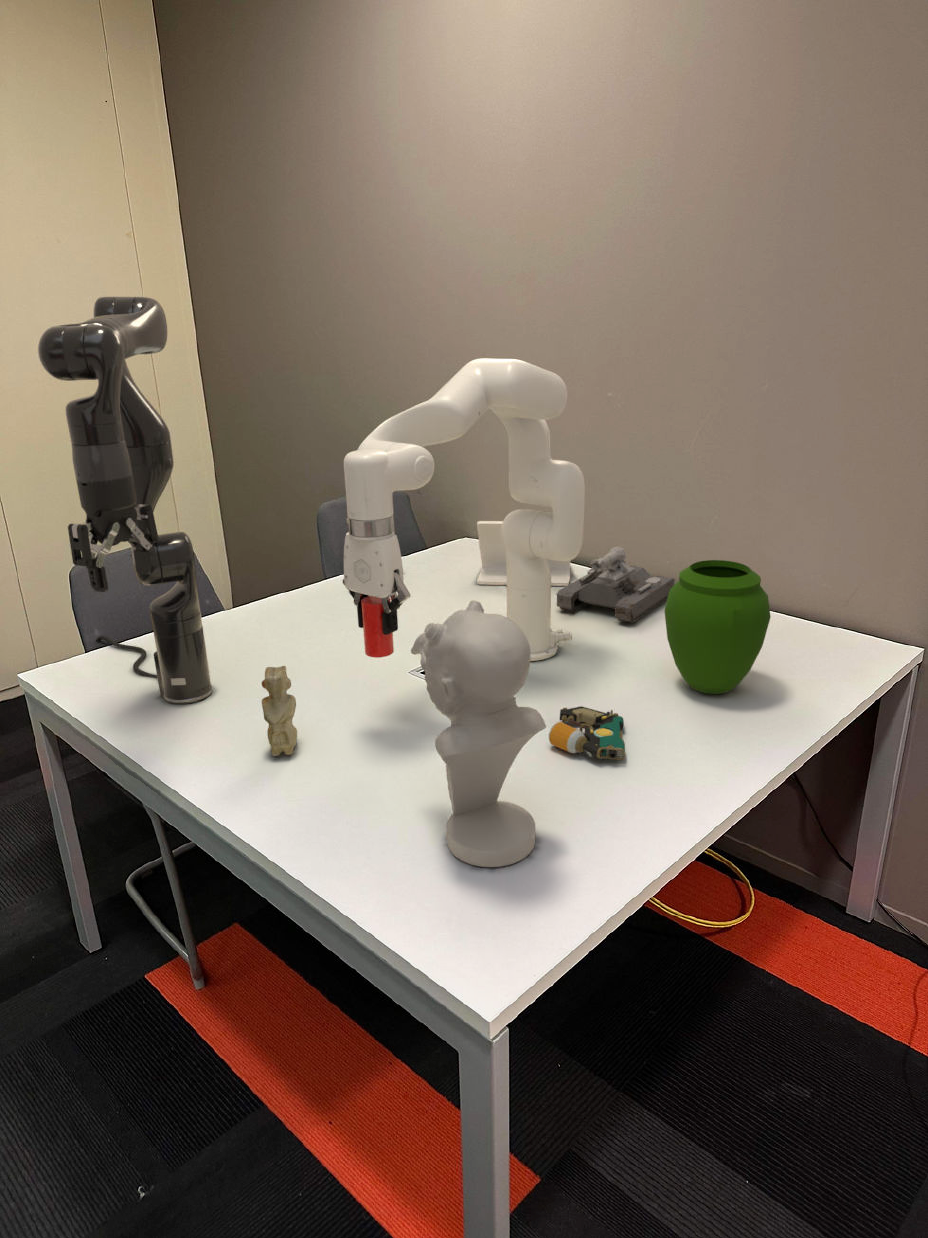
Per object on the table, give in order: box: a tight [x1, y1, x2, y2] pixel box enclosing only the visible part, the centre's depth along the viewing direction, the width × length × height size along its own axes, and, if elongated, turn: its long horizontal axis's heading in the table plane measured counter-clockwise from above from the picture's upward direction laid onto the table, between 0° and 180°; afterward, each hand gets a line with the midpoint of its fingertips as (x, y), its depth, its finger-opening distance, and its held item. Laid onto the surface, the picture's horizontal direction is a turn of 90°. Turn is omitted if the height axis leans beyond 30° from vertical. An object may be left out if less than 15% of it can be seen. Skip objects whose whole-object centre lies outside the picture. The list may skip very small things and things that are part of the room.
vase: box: [664, 559, 772, 695], centre depth 164 cm, size 20×20×24 cm
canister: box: [361, 596, 395, 659], centre depth 147 cm, size 5×5×10 cm
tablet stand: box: [476, 520, 572, 587], centre depth 236 cm, size 18×25×17 cm
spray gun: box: [548, 705, 626, 761], centre depth 149 cm, size 4×17×15 cm
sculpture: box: [261, 665, 298, 757], centre depth 147 cm, size 6×7×15 cm
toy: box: [556, 546, 676, 624], centre depth 212 cm, size 25×20×15 cm
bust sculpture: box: [410, 599, 547, 868], centre depth 121 cm, size 16×24×35 cm
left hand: (123, 582), depth 127 cm, fingers open, 8 cm apart
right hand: (378, 627), depth 147 cm, fingers closed on canister, 5 cm apart
